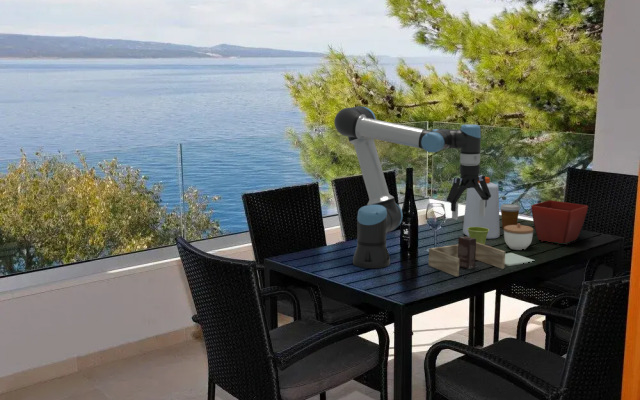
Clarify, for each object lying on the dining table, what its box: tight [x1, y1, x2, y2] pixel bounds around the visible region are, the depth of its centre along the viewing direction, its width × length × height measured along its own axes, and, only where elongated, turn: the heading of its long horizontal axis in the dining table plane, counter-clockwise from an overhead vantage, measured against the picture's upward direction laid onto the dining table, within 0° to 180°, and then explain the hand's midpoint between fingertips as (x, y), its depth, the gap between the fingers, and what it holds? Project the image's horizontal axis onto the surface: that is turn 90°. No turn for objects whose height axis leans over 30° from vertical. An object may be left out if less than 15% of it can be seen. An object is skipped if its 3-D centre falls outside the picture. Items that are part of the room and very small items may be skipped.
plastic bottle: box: [462, 176, 501, 240], centre depth 347 cm, size 15×15×28 cm
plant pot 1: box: [467, 227, 489, 245], centre depth 325 cm, size 9×9×9 cm
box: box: [457, 235, 476, 270], centre depth 295 cm, size 6×4×12 cm
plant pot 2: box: [531, 199, 589, 243], centre depth 337 cm, size 19×19×17 cm
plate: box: [505, 252, 536, 267], centre depth 306 cm, size 14×14×1 cm
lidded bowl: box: [503, 222, 535, 251], centre depth 325 cm, size 13×13×11 cm
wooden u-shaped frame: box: [428, 242, 506, 277], centre depth 295 cm, size 24×18×7 cm
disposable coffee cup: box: [499, 203, 521, 231], centre depth 361 cm, size 10×10×12 cm
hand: (468, 217), depth 292 cm, fingers open, 13 cm apart
